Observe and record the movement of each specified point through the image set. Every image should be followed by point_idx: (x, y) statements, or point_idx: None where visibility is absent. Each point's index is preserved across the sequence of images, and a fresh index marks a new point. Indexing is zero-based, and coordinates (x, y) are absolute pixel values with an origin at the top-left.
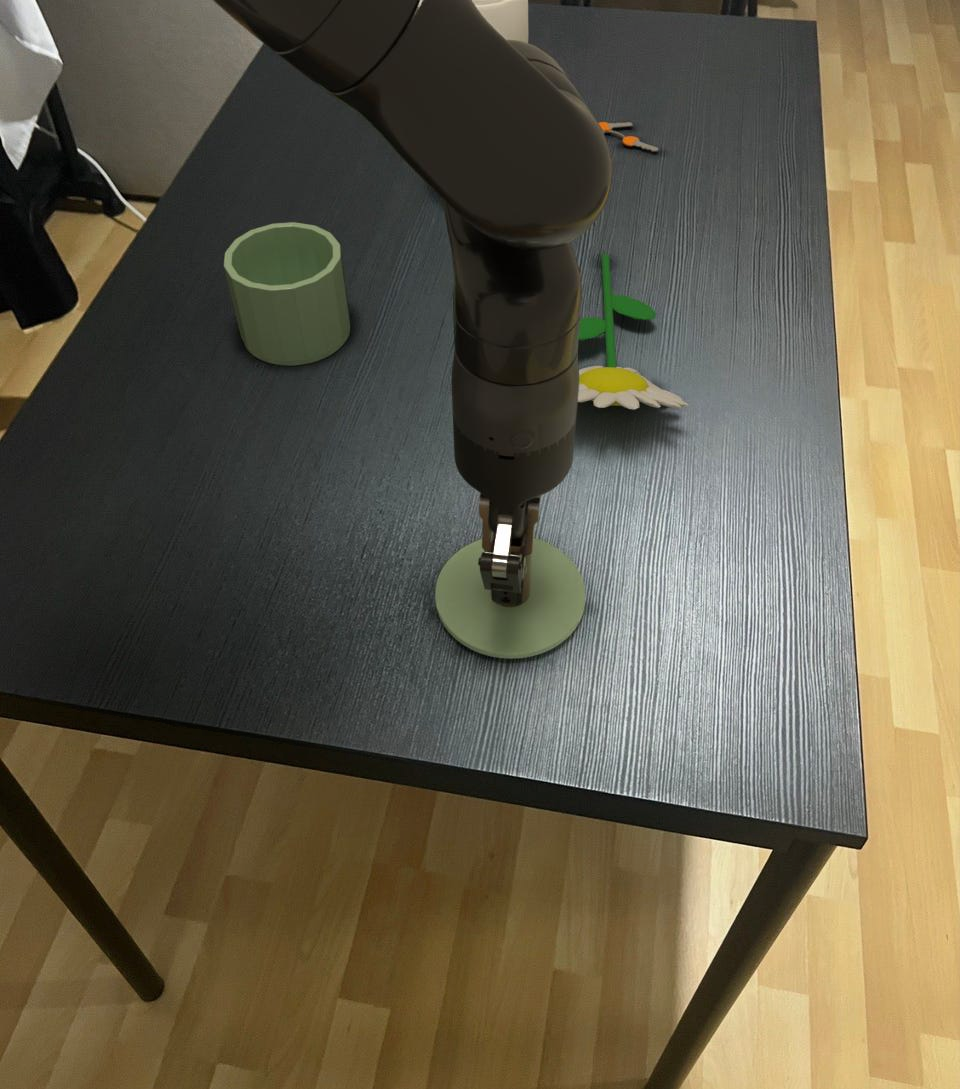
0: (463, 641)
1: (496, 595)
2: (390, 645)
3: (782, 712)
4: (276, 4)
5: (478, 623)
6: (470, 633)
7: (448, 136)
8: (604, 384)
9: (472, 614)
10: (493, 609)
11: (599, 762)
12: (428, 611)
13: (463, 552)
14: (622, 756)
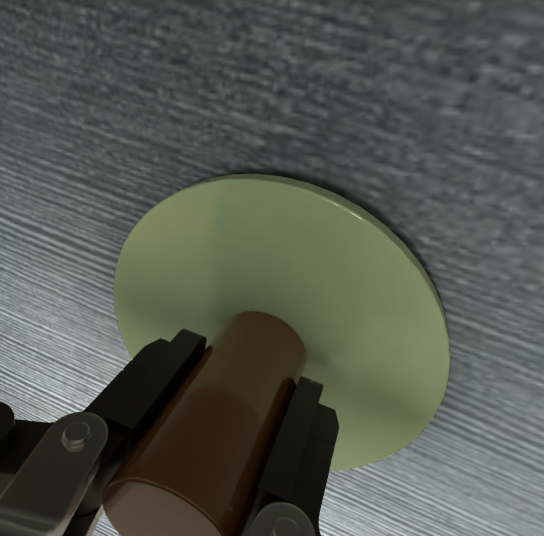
0: (134, 226)
1: (126, 365)
2: (156, 29)
3: (108, 528)
4: None
5: (178, 267)
6: (150, 246)
7: None
8: None
9: (200, 260)
10: (214, 305)
11: (9, 354)
12: (258, 145)
13: (405, 281)
14: (24, 380)
